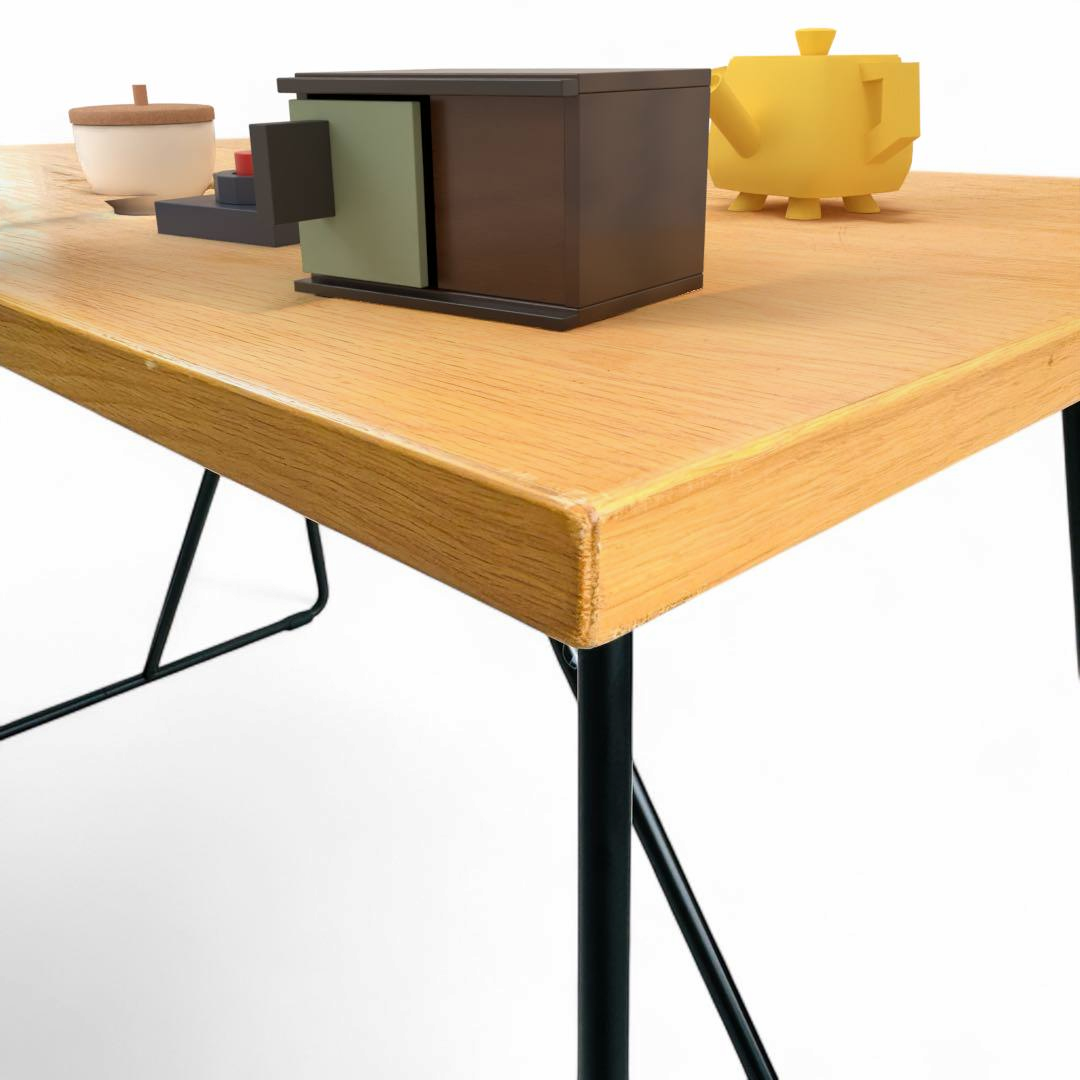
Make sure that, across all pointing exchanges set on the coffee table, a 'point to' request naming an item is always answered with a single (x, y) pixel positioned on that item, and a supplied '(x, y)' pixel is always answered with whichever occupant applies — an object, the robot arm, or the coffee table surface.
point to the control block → (223, 215)
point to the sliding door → (347, 187)
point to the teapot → (813, 126)
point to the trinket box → (145, 150)
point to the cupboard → (545, 189)
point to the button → (243, 162)
